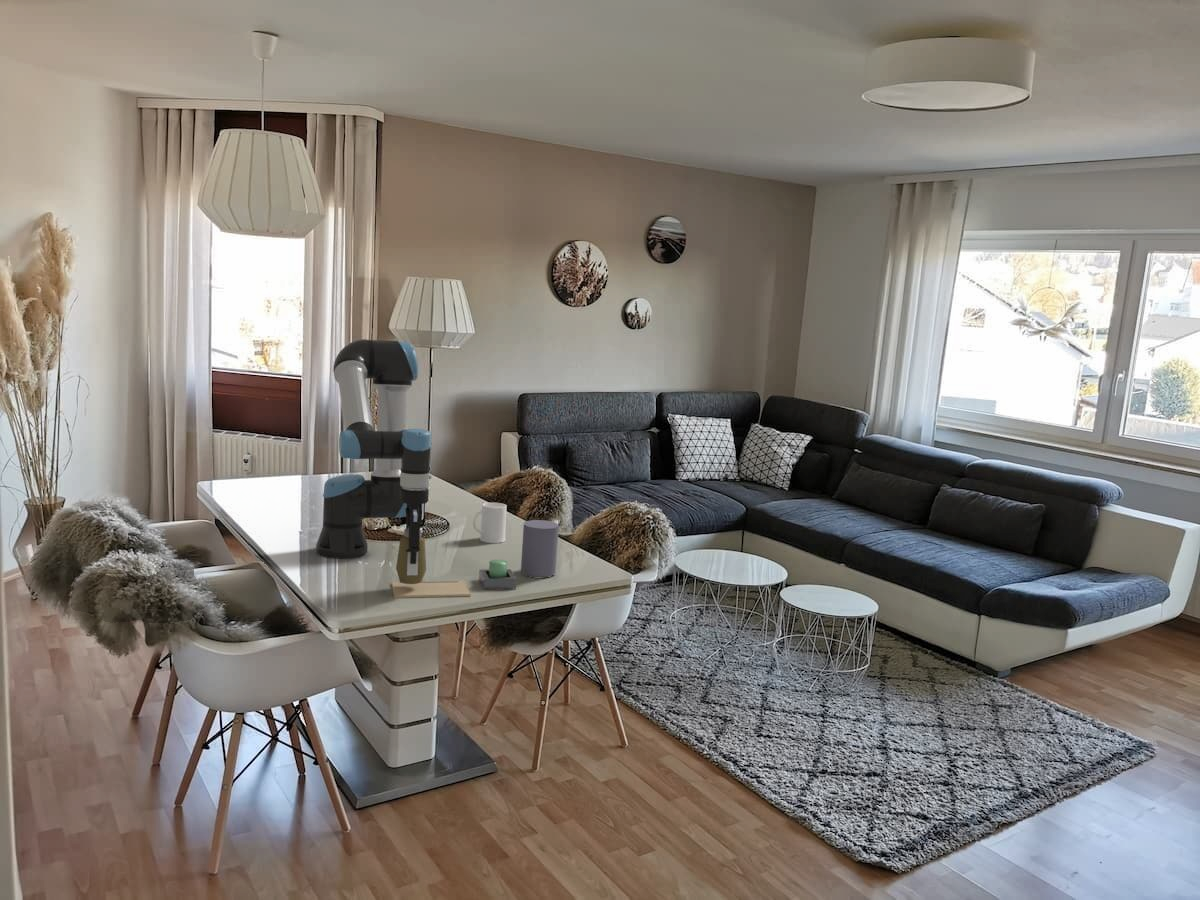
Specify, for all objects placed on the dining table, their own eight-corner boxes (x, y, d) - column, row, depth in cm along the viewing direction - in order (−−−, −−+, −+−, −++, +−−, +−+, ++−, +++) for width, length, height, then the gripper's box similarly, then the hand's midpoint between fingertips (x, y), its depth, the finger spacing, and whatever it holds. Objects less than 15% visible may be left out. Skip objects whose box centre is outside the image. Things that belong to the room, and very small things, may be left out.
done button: (490, 582, 254) (491, 564, 253) (487, 576, 258) (488, 559, 257) (507, 581, 255) (508, 564, 254) (504, 576, 260) (505, 559, 259)
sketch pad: (394, 597, 239) (394, 595, 239) (391, 583, 250) (391, 581, 250) (470, 596, 245) (470, 594, 245) (464, 582, 256) (464, 580, 256)
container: (520, 567, 275) (523, 519, 273) (555, 569, 276) (558, 521, 273) (520, 577, 265) (523, 527, 262) (555, 579, 266) (559, 529, 263)
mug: (476, 545, 296) (478, 509, 294) (466, 538, 303) (468, 503, 301) (509, 542, 302) (511, 507, 300) (498, 536, 309) (500, 501, 308)
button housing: (483, 589, 251) (484, 579, 251) (478, 579, 260) (479, 569, 259) (515, 589, 254) (516, 578, 253) (509, 579, 262) (510, 569, 262)
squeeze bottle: (397, 576, 249) (400, 512, 247) (427, 577, 250) (430, 514, 247) (393, 585, 241) (396, 519, 239) (424, 587, 242) (427, 521, 239)
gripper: (432, 496, 233) (428, 581, 236) (425, 479, 253) (421, 559, 256) (402, 495, 231) (399, 582, 234) (397, 479, 250) (394, 559, 254)
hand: (411, 569), depth 245 cm, fingers closed on squeeze bottle, 8 cm apart
